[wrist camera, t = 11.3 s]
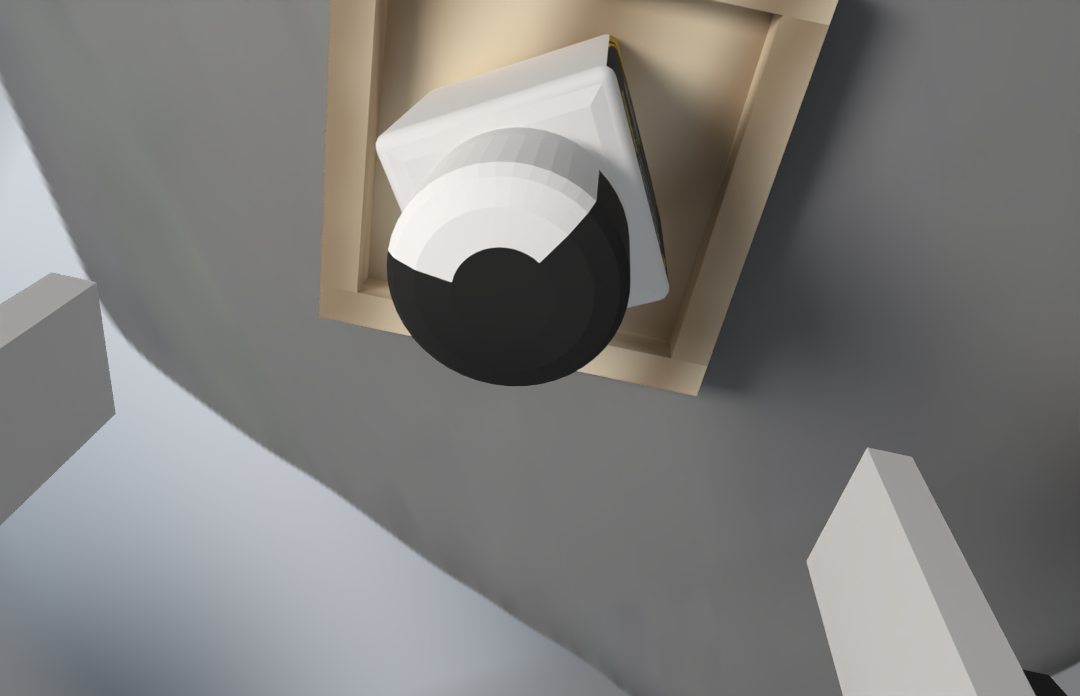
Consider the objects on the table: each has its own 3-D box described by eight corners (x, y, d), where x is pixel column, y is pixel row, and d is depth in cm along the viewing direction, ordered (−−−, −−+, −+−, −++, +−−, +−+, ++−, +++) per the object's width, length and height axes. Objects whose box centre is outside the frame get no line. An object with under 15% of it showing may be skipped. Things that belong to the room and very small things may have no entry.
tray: (828, -32, 25) (848, -27, 23) (691, 365, 33) (696, 396, 31) (360, -133, 25) (335, -138, 22) (339, 290, 33) (319, 316, 31)
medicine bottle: (661, 220, 29) (684, 388, 18) (490, 264, 30) (421, 442, 20) (614, 29, 25) (609, 103, 15) (425, 91, 27) (304, 195, 17)
